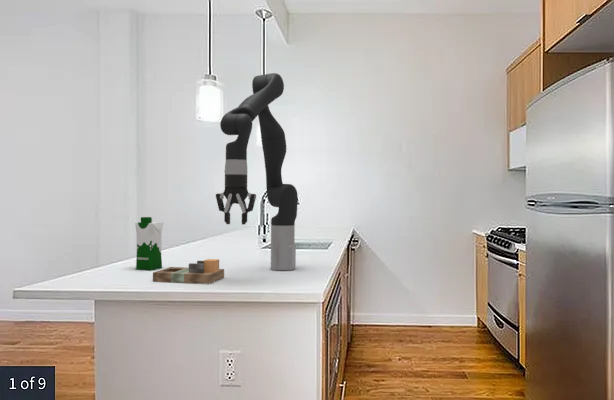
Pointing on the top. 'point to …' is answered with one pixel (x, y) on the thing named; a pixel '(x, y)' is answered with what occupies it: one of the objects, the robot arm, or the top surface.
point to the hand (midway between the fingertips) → (235, 224)
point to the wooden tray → (187, 274)
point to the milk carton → (148, 244)
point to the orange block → (211, 265)
